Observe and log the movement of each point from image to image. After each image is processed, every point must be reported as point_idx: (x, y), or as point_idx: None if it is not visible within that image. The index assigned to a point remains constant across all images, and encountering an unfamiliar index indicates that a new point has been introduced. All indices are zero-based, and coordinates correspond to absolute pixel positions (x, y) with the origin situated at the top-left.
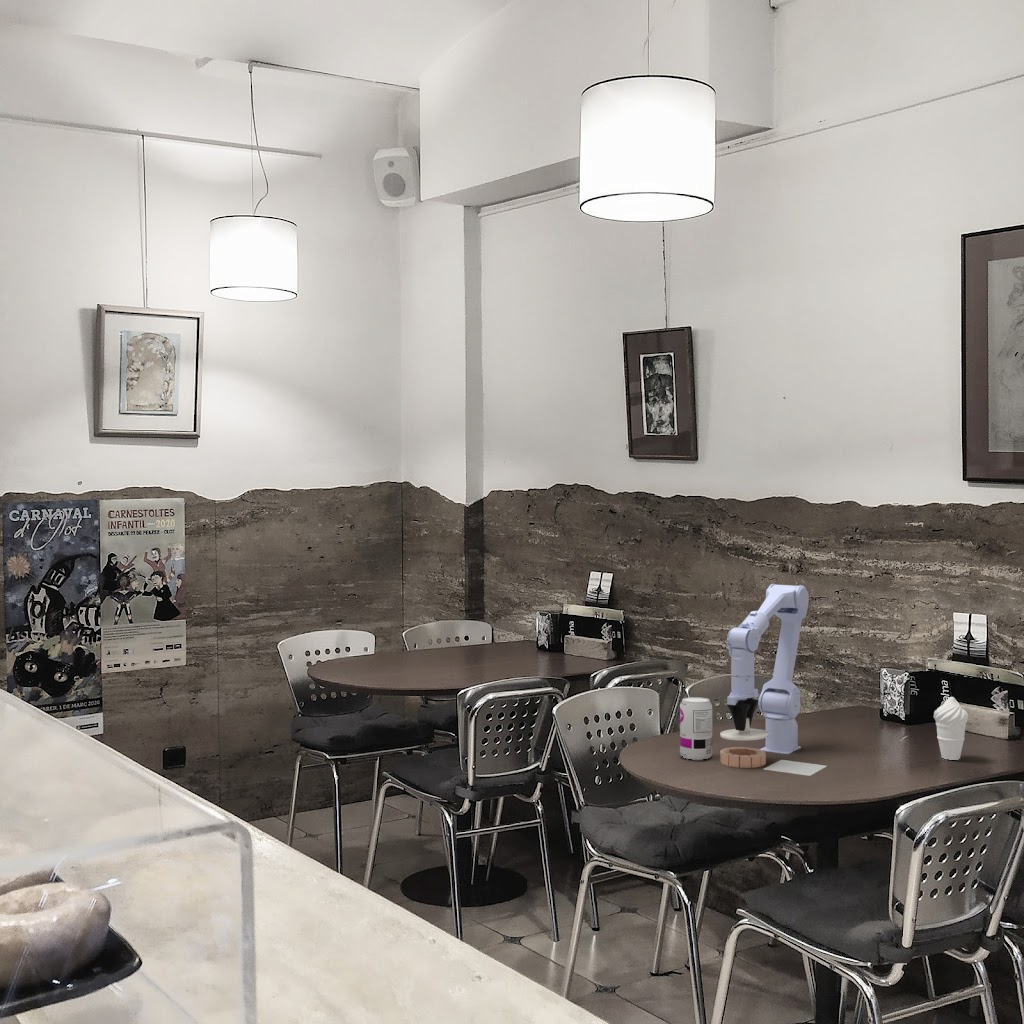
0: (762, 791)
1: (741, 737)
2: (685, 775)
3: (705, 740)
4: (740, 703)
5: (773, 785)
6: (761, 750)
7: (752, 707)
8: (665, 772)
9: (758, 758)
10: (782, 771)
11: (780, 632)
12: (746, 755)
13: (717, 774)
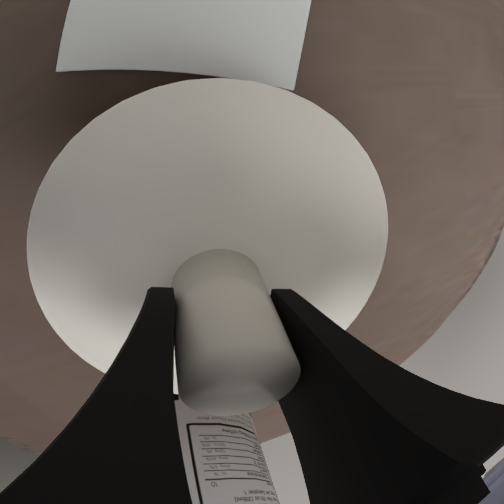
0: (498, 82)
1: (386, 246)
2: (406, 301)
3: None
4: (465, 488)
5: (456, 48)
6: None
7: (186, 476)
8: (383, 345)
9: None
10: (302, 5)
11: None
12: None
13: (388, 235)
